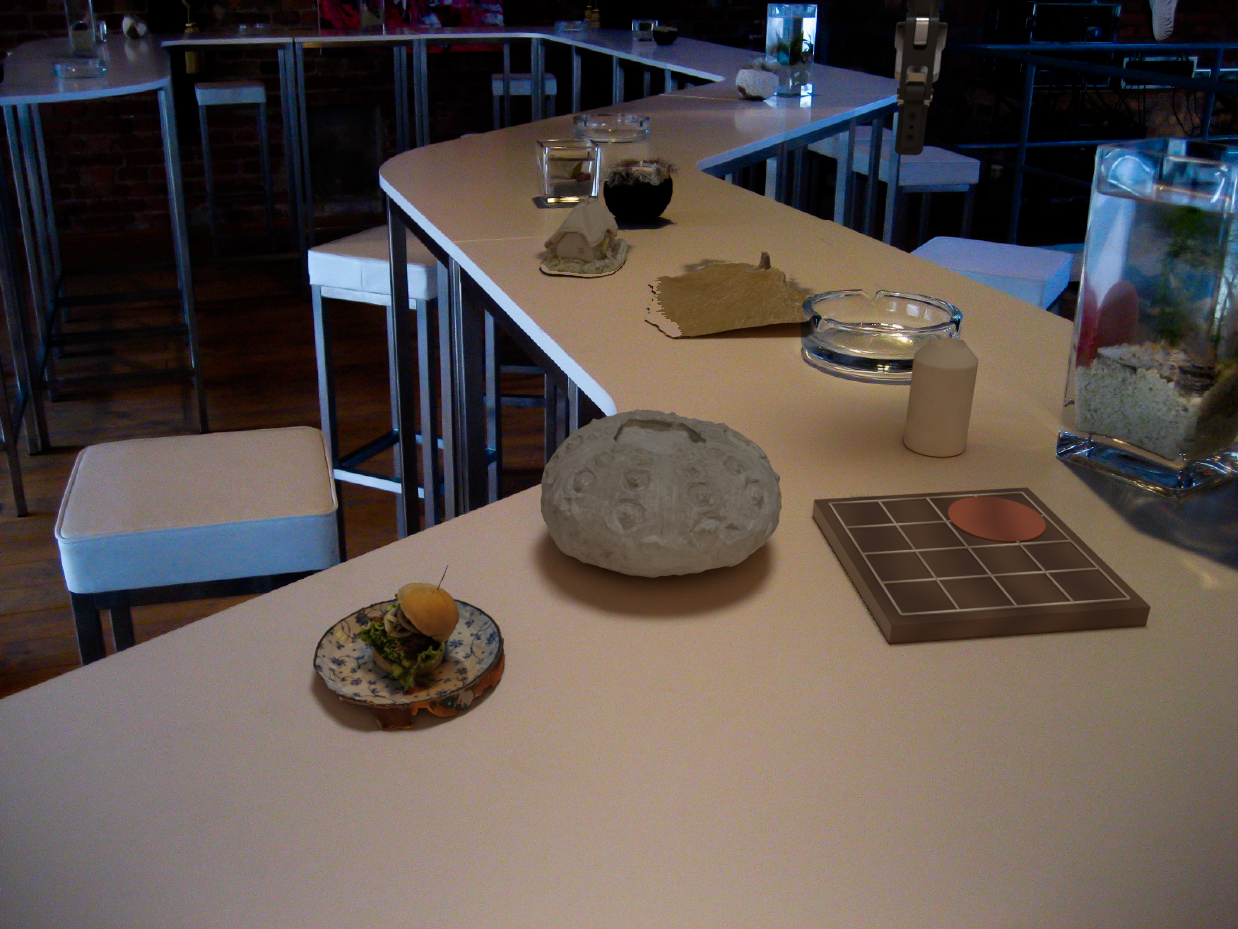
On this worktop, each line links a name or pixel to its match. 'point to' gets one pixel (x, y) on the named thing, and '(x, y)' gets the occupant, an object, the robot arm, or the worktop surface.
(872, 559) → the board
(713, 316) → the leather hide
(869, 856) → the worktop surface
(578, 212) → the ceramic model
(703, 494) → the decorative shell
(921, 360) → the candle
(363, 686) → the burger
